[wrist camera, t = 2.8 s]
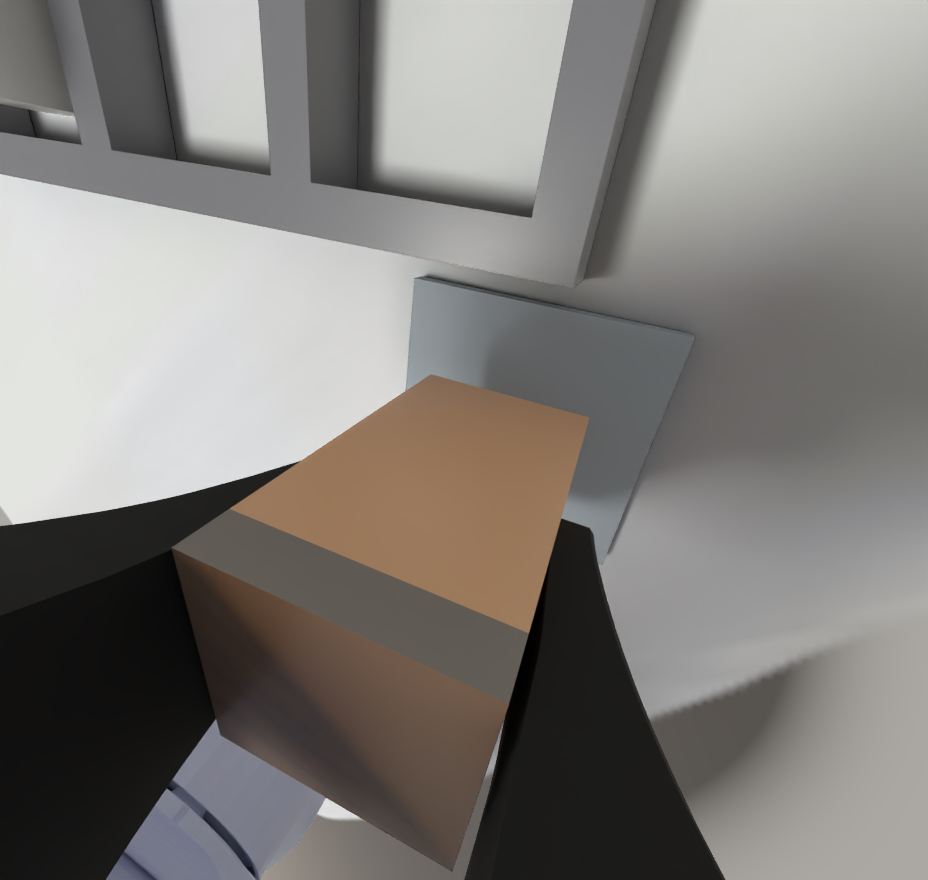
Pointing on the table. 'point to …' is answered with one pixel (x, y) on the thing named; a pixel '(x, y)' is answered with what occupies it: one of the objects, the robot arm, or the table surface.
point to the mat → (558, 379)
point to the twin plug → (31, 59)
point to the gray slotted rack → (331, 137)
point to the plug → (386, 602)
